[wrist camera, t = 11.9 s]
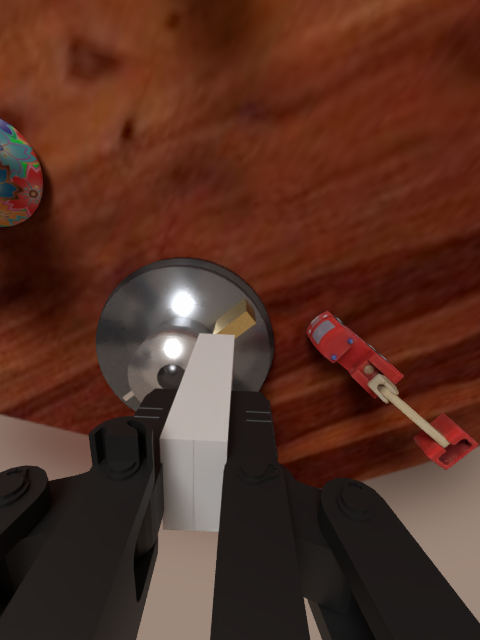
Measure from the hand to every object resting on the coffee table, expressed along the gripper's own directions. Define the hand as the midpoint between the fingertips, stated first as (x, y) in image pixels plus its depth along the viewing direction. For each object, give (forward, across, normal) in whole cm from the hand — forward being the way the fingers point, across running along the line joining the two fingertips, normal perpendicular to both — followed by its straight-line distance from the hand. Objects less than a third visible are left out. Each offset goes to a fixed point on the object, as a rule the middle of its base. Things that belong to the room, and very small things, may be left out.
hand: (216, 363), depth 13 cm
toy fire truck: (+17, +14, -7) cm, 23 cm away
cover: (+14, -4, -6) cm, 15 cm away
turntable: (+15, -4, -6) cm, 17 cm away
